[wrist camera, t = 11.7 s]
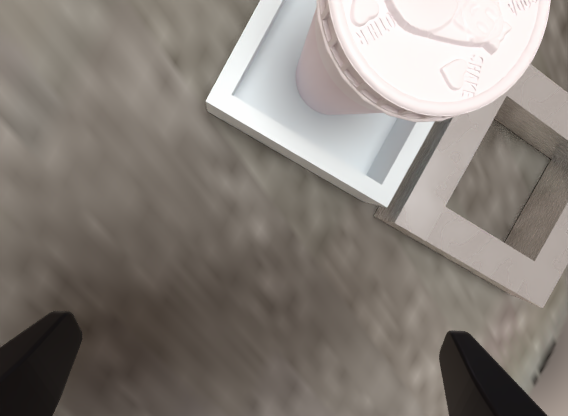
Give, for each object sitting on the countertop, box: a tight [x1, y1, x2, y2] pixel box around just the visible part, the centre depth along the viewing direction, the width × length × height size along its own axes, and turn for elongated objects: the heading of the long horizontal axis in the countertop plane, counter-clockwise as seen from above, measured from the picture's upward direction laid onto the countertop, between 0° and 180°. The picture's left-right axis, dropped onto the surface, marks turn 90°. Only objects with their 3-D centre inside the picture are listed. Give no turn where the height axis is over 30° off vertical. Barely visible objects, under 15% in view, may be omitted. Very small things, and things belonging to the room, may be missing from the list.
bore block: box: [374, 64, 568, 308], centre depth 20 cm, size 10×10×2 cm
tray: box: [206, 0, 435, 207], centre depth 18 cm, size 10×10×3 cm
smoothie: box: [296, 0, 551, 122], centre depth 12 cm, size 6×6×14 cm
